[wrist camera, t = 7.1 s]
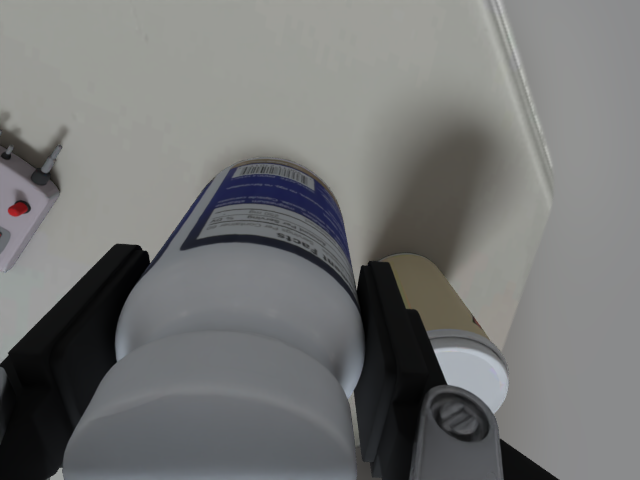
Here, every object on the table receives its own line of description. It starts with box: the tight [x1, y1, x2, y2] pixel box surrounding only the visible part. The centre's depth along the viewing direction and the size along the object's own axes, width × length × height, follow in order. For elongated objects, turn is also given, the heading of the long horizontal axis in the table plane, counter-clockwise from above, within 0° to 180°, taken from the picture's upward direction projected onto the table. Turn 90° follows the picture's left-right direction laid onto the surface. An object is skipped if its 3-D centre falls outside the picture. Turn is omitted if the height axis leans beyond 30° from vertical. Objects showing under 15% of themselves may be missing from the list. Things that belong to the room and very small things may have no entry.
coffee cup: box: [379, 253, 509, 414], centre depth 29 cm, size 9×9×12 cm
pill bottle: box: [62, 157, 365, 480], centre depth 10 cm, size 6×6×10 cm
